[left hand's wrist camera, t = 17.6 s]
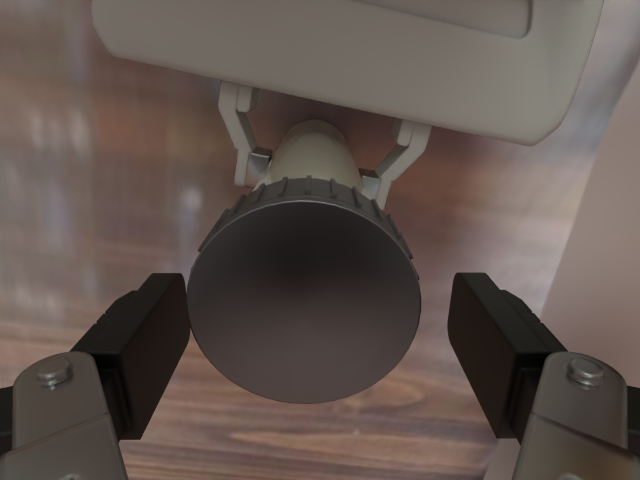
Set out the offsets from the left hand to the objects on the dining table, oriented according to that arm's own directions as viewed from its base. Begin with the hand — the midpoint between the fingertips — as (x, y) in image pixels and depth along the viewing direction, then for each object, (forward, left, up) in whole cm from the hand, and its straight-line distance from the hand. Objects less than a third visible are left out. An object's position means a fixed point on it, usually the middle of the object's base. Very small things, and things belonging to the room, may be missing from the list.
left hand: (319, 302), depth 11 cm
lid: (+1, 0, +2) cm, 2 cm away
